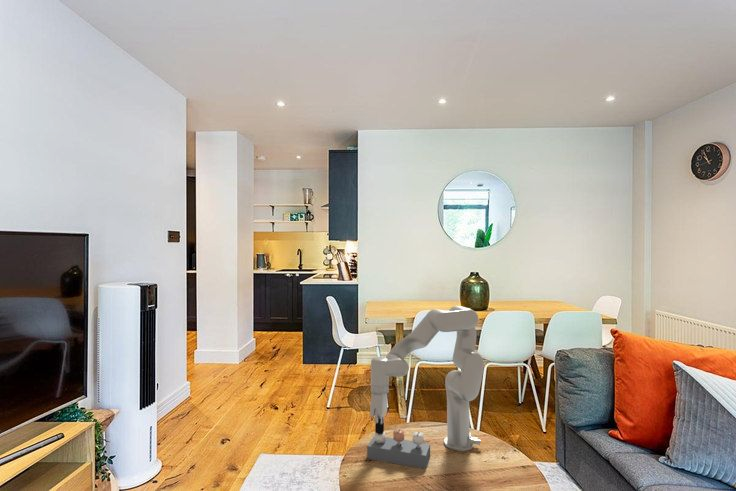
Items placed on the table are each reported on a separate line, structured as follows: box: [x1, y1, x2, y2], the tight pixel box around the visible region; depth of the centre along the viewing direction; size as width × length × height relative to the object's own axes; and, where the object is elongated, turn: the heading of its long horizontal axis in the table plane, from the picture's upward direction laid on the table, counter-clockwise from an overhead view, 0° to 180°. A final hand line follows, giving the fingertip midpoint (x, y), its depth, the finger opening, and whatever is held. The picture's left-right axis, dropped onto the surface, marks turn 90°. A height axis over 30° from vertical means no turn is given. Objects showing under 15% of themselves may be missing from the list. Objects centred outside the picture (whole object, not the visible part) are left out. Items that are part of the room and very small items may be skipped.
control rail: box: [366, 434, 431, 470], centre depth 157 cm, size 24×10×5 cm, turn 71°
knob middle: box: [392, 428, 405, 446], centre depth 157 cm, size 4×4×6 cm
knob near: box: [412, 431, 425, 449], centre depth 154 cm, size 4×4×6 cm
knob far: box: [374, 431, 386, 443], centre depth 159 cm, size 4×4×6 cm
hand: (379, 432), depth 160 cm, fingers closed
